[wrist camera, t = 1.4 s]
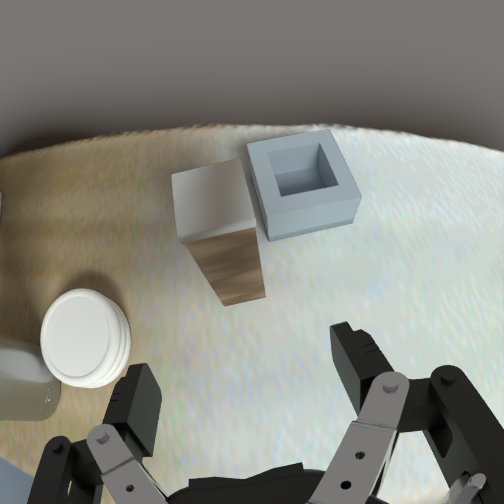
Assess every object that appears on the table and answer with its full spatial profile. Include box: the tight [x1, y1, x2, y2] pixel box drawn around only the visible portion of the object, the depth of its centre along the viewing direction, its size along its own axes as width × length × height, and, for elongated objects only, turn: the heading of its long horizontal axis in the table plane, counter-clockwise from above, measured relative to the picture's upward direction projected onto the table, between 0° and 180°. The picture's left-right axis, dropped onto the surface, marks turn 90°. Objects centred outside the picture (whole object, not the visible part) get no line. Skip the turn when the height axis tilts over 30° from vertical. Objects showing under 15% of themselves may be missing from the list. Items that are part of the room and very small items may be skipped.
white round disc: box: [40, 288, 131, 388], centre depth 29 cm, size 10×10×4 cm
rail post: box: [171, 158, 266, 306], centre depth 24 cm, size 4×4×15 cm
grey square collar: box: [247, 129, 362, 242], centre depth 32 cm, size 9×9×5 cm
